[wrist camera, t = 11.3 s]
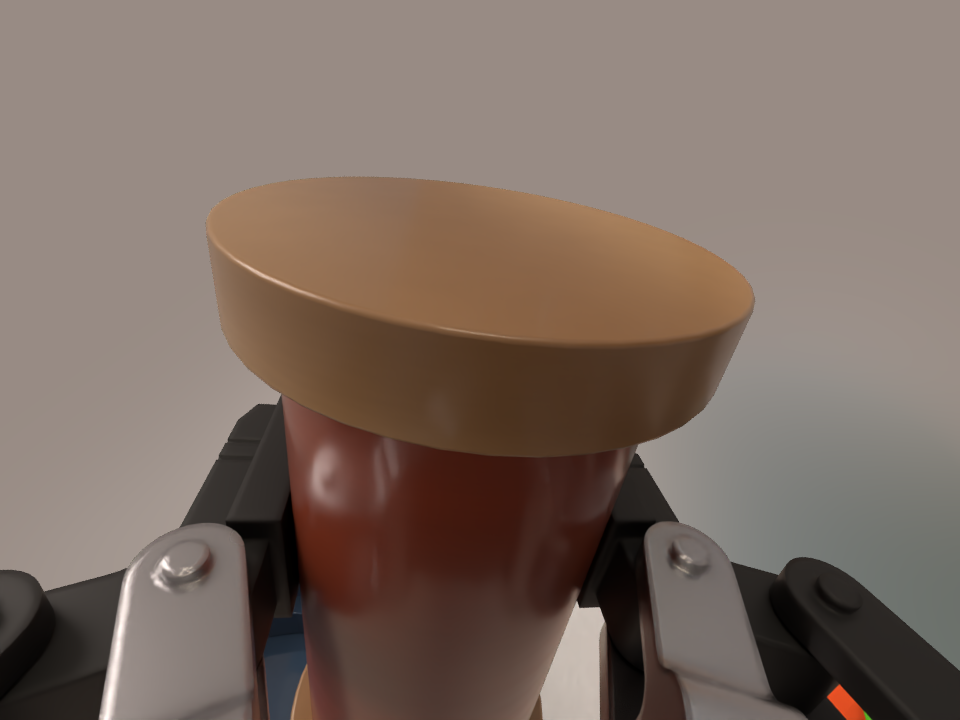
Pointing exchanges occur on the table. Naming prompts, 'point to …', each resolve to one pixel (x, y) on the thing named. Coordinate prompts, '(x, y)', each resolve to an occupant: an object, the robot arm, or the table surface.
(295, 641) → the bowl
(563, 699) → the table surface
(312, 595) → the spool
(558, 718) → the table surface
